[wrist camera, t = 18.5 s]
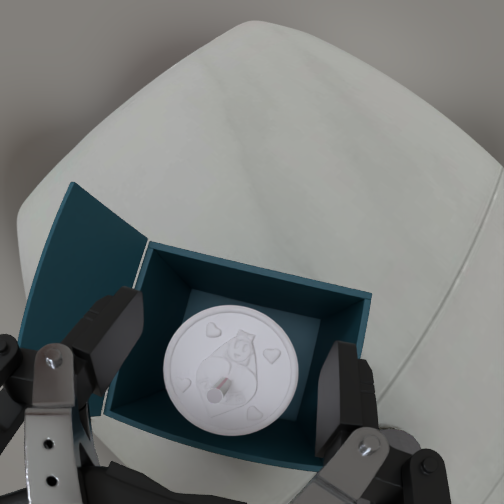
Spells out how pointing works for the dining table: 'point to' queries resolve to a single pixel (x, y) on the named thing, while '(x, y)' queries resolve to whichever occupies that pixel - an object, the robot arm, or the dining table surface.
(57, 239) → the flap
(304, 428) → the open storage box
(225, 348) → the smoothie
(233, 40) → the dining table surface
